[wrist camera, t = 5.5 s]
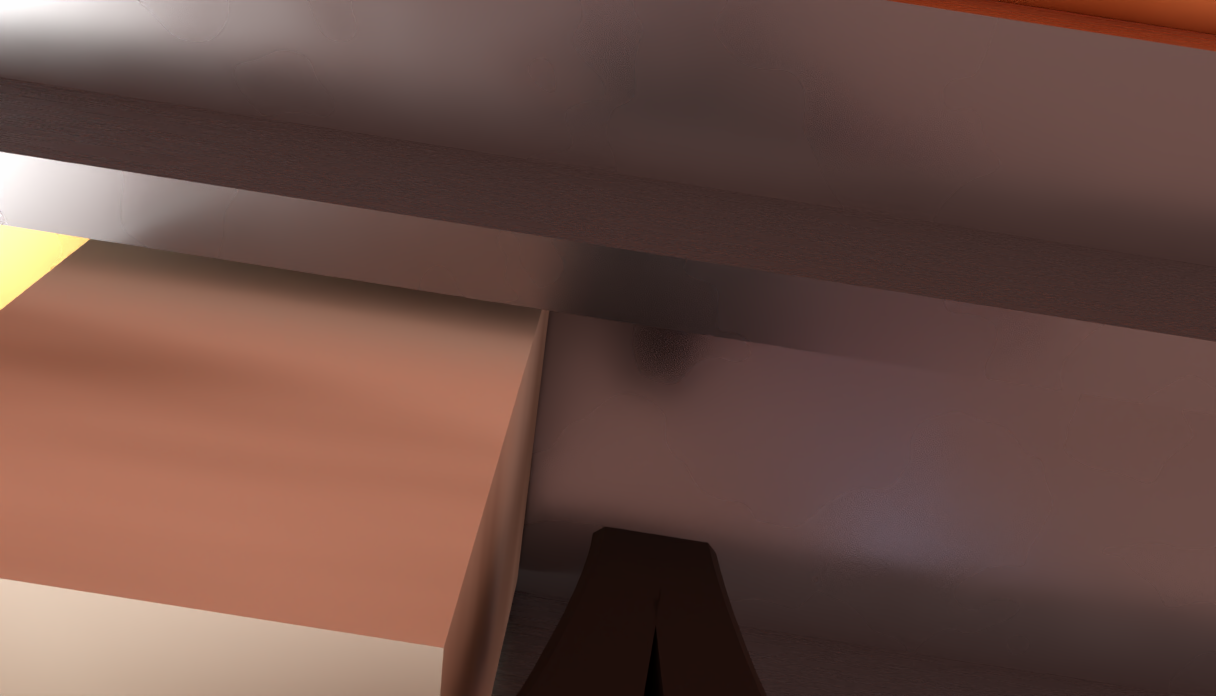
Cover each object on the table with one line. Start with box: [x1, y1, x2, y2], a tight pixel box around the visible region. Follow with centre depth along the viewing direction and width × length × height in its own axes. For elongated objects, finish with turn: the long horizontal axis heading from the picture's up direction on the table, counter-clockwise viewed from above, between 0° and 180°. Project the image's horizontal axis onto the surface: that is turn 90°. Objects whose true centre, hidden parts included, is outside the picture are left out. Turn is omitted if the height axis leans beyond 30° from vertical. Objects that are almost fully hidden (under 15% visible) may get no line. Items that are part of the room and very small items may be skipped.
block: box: [0, 239, 549, 696], centre depth 11 cm, size 5×5×6 cm
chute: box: [0, 0, 1216, 696], centre depth 13 cm, size 12×20×3 cm, turn 82°
